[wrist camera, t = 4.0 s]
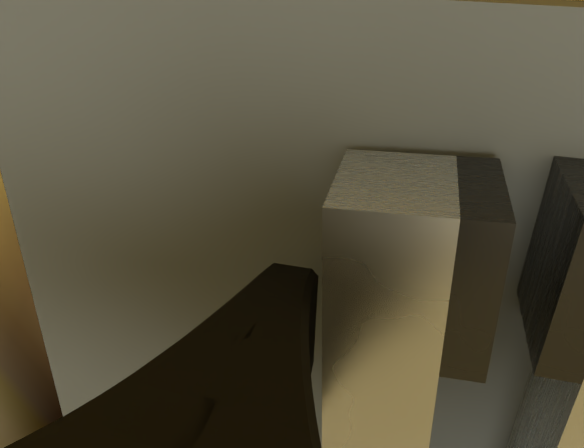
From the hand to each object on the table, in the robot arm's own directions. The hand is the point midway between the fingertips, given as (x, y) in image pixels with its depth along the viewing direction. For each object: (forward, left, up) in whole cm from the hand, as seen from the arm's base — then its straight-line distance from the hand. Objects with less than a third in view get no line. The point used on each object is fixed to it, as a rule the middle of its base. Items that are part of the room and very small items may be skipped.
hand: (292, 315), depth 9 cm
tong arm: (-4, -3, -1) cm, 5 cm away
